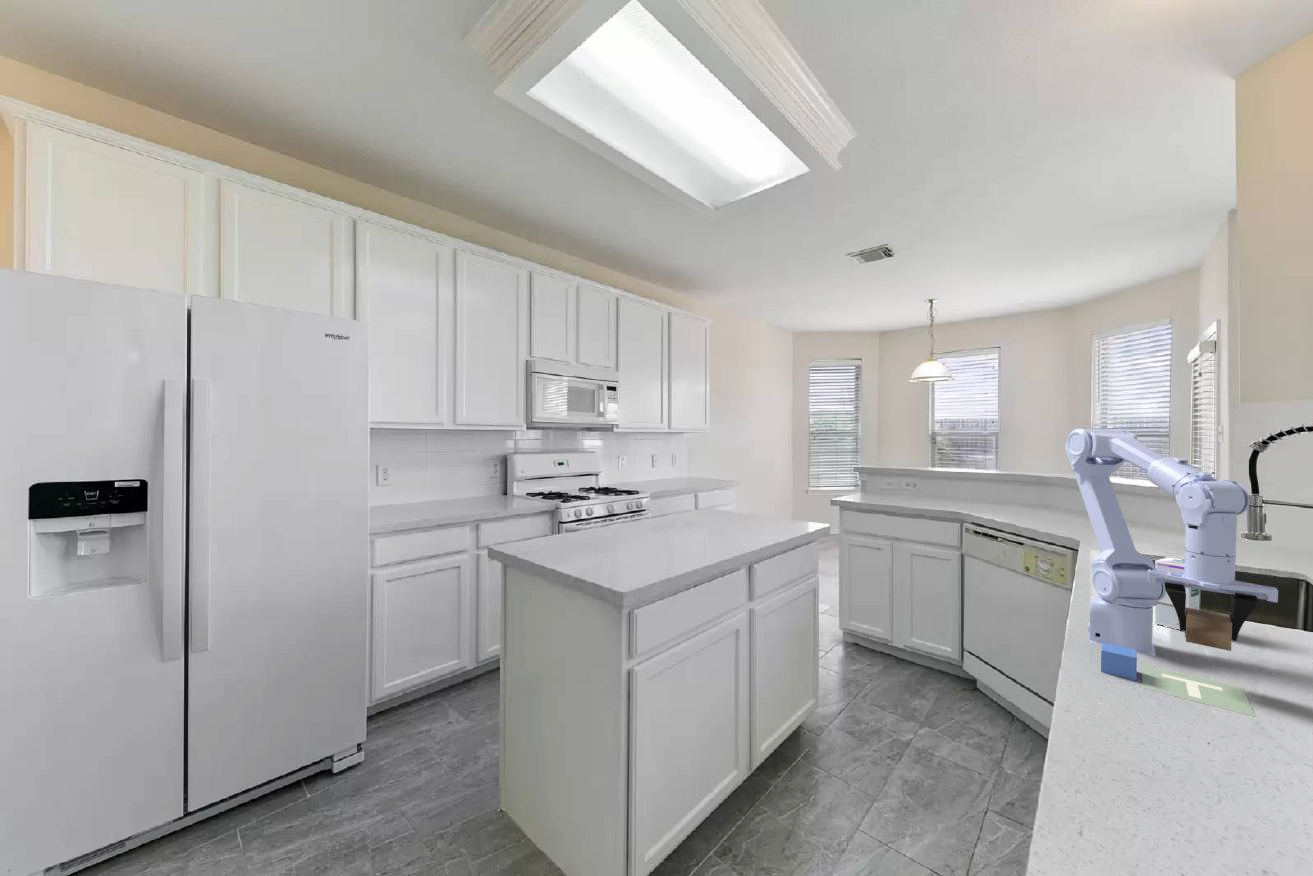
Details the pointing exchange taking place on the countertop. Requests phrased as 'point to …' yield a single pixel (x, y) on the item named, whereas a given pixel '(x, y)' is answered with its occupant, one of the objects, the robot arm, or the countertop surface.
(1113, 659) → the blue cube
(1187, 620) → the walnut block
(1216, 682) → the board
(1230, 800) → the countertop surface
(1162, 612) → the syrup box
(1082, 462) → the robot arm
